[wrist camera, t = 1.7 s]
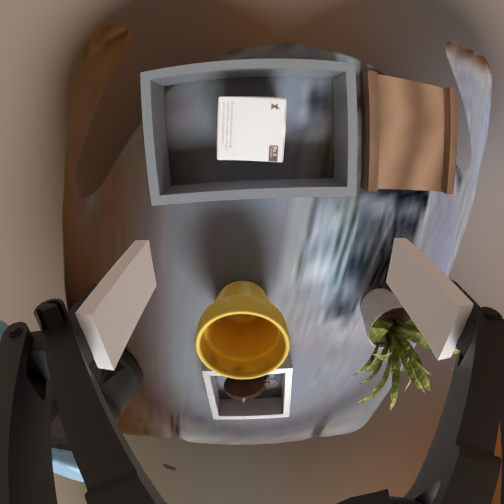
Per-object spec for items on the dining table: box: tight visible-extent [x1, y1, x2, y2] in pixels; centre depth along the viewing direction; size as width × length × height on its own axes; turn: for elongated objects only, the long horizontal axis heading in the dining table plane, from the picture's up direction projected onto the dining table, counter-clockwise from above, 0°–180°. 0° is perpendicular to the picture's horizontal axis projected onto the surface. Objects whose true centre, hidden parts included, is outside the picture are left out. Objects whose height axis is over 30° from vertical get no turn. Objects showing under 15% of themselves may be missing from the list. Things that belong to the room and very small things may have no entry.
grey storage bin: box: [140, 59, 357, 206], centre depth 28 cm, size 21×14×5 cm, turn 93°
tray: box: [360, 70, 457, 194], centre depth 30 cm, size 13×14×2 cm
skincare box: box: [217, 96, 286, 162], centre depth 27 cm, size 6×6×7 cm
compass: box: [224, 376, 278, 403], centre depth 43 cm, size 8×8×7 cm
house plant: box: [354, 289, 460, 411], centre depth 33 cm, size 14×14×16 cm
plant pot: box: [195, 281, 290, 379], centre depth 35 cm, size 10×10×10 cm
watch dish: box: [202, 350, 293, 419], centre depth 44 cm, size 13×13×4 cm
